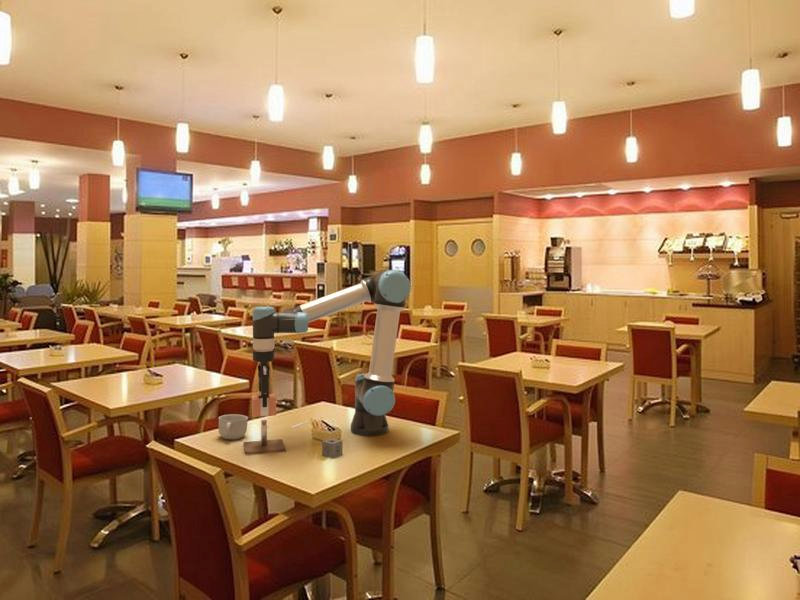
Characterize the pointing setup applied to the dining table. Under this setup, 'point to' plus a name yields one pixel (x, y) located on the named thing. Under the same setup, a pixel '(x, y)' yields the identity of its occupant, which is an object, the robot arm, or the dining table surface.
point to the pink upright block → (257, 405)
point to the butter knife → (299, 424)
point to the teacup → (232, 426)
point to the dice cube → (332, 448)
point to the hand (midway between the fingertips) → (263, 412)
